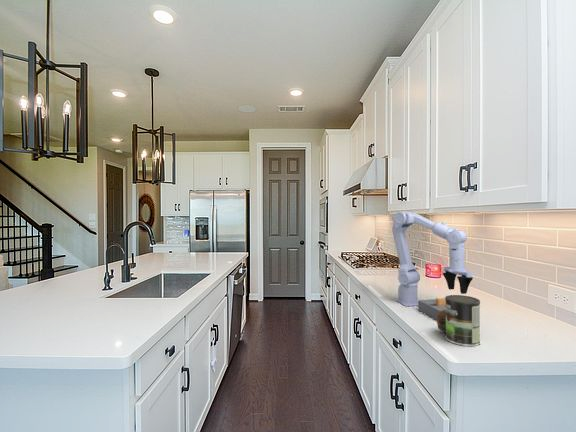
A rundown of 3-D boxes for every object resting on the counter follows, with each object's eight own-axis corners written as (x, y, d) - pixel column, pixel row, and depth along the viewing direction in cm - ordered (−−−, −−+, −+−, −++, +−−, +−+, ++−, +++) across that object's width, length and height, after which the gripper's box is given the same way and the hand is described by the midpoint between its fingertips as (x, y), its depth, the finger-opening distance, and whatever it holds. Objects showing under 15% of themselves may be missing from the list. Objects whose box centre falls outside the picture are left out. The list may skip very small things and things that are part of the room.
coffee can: (457, 347, 101) (456, 303, 101) (439, 335, 111) (439, 295, 111) (488, 346, 102) (487, 302, 102) (467, 334, 112) (467, 294, 112)
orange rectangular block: (460, 312, 136) (460, 297, 135) (463, 313, 133) (463, 298, 133) (435, 313, 134) (435, 298, 134) (438, 315, 132) (438, 299, 132)
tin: (441, 335, 111) (441, 311, 111) (435, 332, 114) (435, 309, 114) (476, 330, 115) (475, 307, 115) (469, 327, 118) (468, 305, 118)
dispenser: (436, 309, 142) (436, 299, 142) (459, 321, 126) (459, 309, 126) (418, 310, 141) (418, 300, 141) (439, 322, 125) (439, 310, 125)
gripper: (437, 257, 140) (437, 287, 140) (460, 261, 126) (460, 296, 126) (451, 256, 141) (452, 287, 141) (476, 261, 127) (476, 295, 127)
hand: (457, 291), depth 134 cm, fingers open, 7 cm apart
